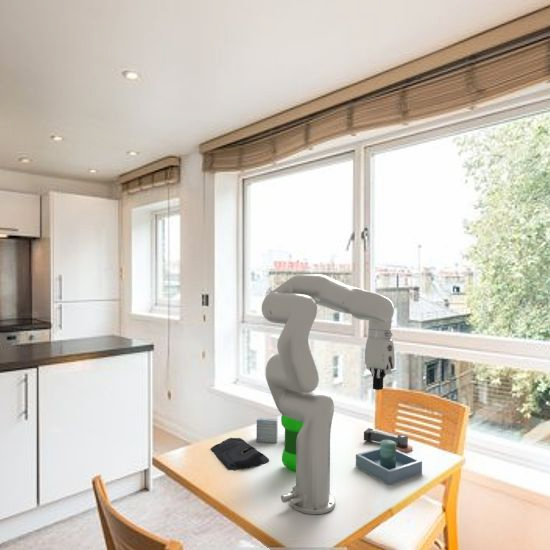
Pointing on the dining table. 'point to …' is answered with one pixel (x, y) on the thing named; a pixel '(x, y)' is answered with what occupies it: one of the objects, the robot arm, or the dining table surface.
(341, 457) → the dining table surface
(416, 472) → the tray
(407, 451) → the crank base
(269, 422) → the medicine box
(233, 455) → the dark slate chunk
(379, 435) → the crank lever
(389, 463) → the teal cylinder
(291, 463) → the plastic bottle
